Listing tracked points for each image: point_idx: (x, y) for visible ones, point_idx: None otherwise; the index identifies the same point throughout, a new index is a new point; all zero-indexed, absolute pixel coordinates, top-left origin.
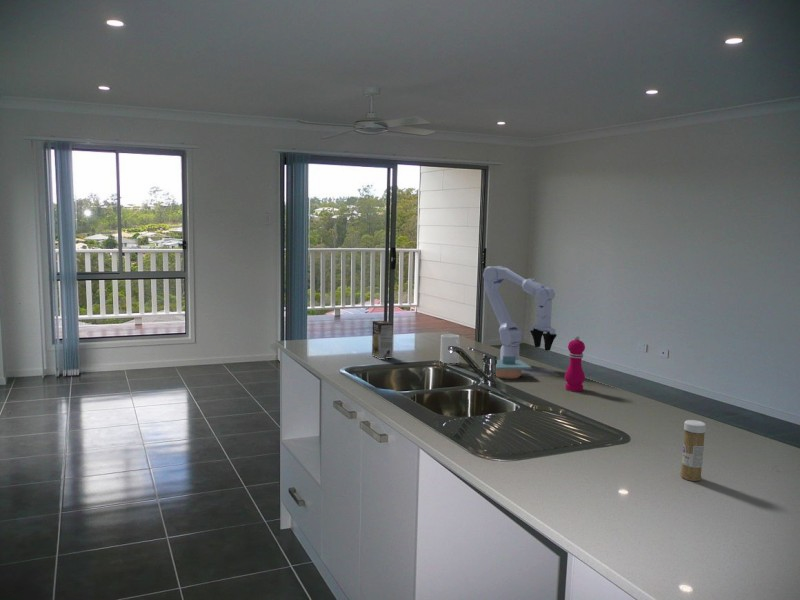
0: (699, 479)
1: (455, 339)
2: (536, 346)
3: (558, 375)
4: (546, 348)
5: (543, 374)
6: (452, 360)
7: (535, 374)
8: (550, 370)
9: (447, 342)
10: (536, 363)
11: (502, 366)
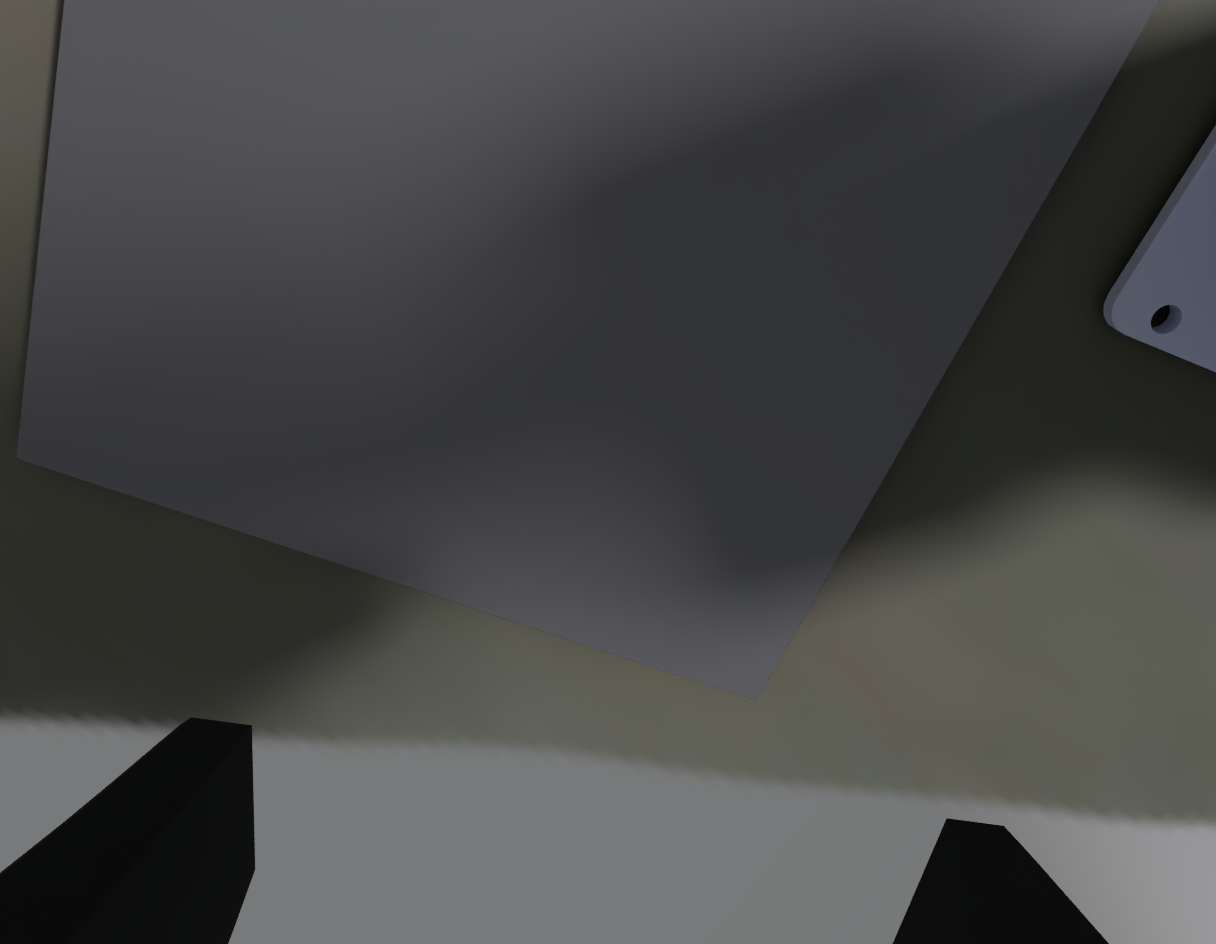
0: None
1: None
2: (948, 866)
3: (55, 439)
4: (129, 791)
5: (200, 200)
6: None
7: (246, 1)
8: (496, 594)
9: None
10: (1145, 792)
11: None
